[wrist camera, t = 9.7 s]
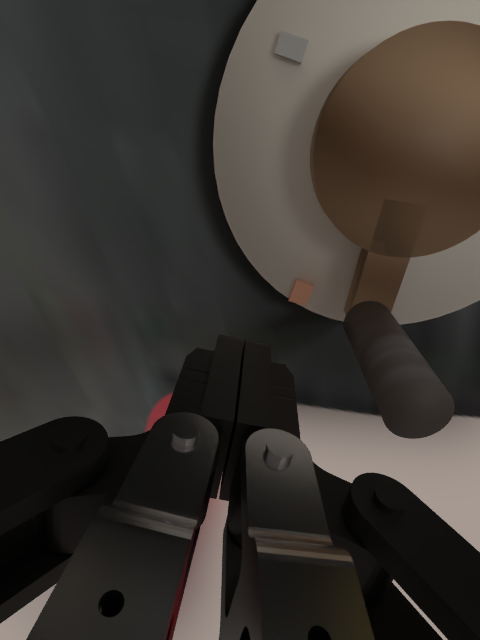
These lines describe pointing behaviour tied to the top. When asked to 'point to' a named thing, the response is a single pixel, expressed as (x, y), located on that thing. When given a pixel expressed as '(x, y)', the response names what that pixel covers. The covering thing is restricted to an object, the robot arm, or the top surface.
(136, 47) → the top surface
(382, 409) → the brown disc with handle
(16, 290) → the top surface
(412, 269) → the dial base
